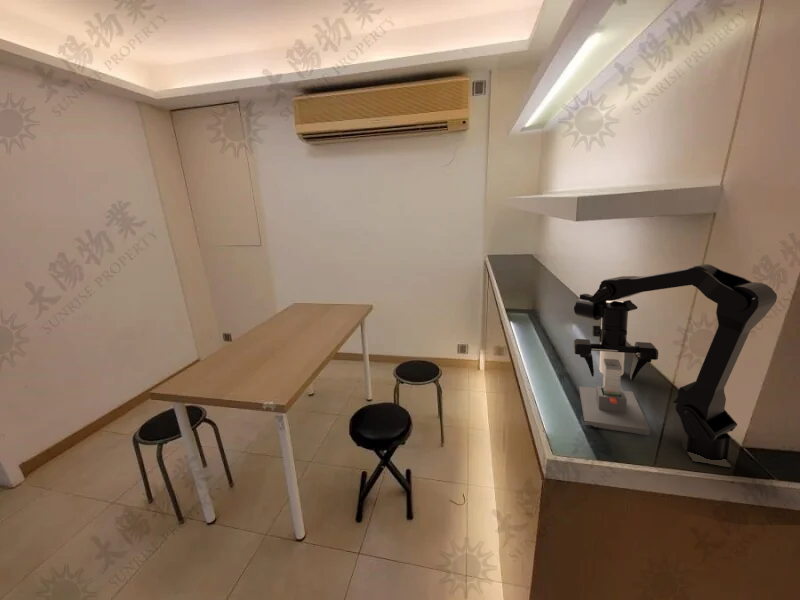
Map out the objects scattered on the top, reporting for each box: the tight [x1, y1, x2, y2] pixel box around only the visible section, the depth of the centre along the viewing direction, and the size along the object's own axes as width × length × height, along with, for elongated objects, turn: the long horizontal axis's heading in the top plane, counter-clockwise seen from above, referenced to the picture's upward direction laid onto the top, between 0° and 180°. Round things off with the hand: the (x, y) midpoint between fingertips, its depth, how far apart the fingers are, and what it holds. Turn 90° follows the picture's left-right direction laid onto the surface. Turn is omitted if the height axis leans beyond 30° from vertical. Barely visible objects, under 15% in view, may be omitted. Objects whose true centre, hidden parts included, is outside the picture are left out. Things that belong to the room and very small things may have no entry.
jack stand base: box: [578, 385, 651, 436], centre depth 92 cm, size 14×20×6 cm
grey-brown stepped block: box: [602, 359, 622, 397], centre depth 90 cm, size 4×5×9 cm
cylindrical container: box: [598, 300, 625, 377], centre depth 112 cm, size 7×7×25 cm
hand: (611, 377), depth 90 cm, fingers open, 9 cm apart
